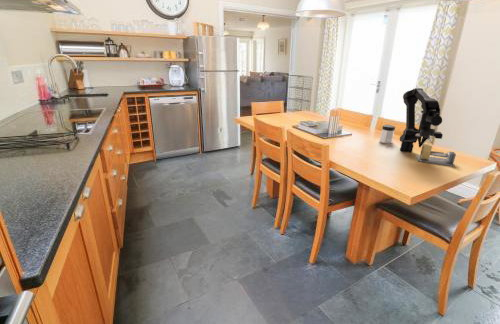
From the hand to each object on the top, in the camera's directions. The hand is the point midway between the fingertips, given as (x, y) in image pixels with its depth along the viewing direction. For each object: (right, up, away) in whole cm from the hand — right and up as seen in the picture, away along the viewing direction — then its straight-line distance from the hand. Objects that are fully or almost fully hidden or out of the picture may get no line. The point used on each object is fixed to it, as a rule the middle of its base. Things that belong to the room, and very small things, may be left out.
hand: (419, 147), depth 166 cm
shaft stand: (+8, -8, -1) cm, 11 cm away
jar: (-3, +6, +36) cm, 36 cm away
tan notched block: (+3, -6, +1) cm, 7 cm away
